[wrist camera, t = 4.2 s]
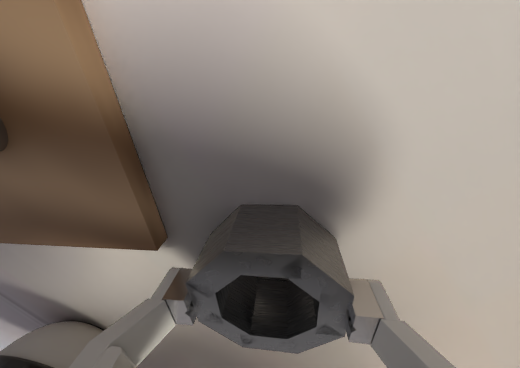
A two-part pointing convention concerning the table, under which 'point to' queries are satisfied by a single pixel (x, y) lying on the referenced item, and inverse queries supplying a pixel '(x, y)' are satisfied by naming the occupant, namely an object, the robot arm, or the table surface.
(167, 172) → the table surface
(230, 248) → the ring
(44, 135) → the piston stand
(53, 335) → the black rounded piece
